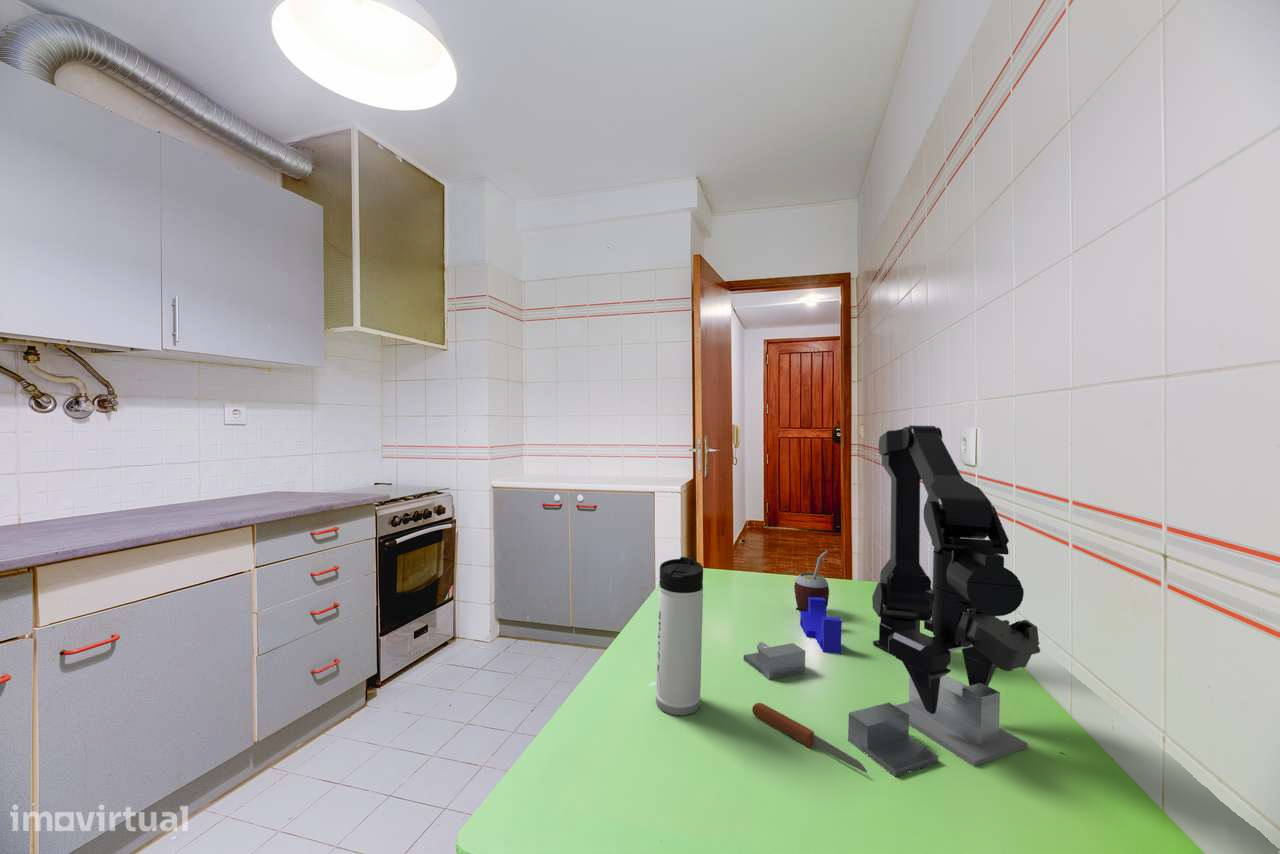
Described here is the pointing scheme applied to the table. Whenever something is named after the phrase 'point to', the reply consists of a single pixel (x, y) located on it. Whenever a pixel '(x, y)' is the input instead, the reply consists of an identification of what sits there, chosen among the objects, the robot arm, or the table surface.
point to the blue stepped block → (821, 625)
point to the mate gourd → (810, 587)
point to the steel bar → (964, 709)
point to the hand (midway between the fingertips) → (954, 705)
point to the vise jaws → (856, 716)
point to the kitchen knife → (801, 733)
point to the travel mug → (679, 636)
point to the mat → (962, 739)
